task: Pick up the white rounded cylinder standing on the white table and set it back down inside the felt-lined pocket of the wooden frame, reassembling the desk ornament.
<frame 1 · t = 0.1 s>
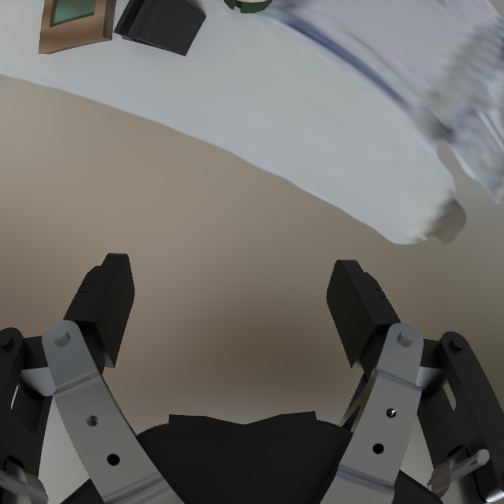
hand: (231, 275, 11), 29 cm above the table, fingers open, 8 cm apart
wooden frame: (84, 2, 22), on the table
phone stand: (164, 27, 26), on the table
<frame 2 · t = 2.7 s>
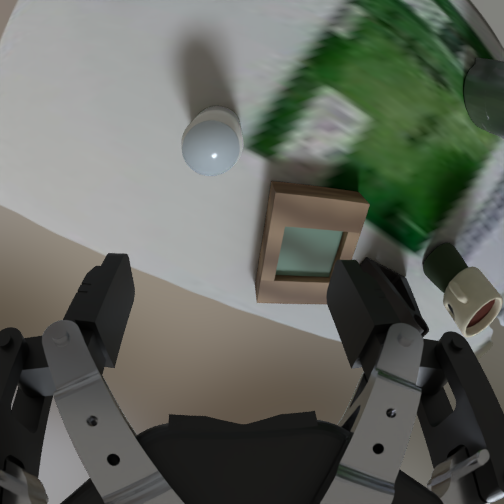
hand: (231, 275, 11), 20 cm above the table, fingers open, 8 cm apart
character mug: (437, 257, 37), on the table
wooden frame: (304, 241, 34), on the table
white rounded cylinder: (216, 128, 26), on the table
phone stand: (373, 282, 39), on the table
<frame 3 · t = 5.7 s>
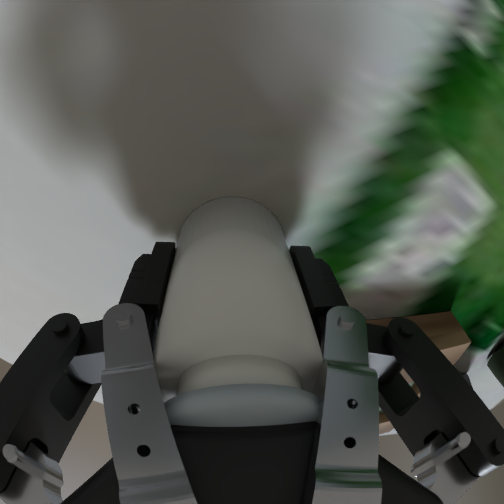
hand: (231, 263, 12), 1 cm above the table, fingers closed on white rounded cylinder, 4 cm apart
character mug: (502, 344, 24), on the table
wooden frame: (364, 377, 20), on the table
white rounded cylinder: (231, 245, 13), on the table, touching gripper
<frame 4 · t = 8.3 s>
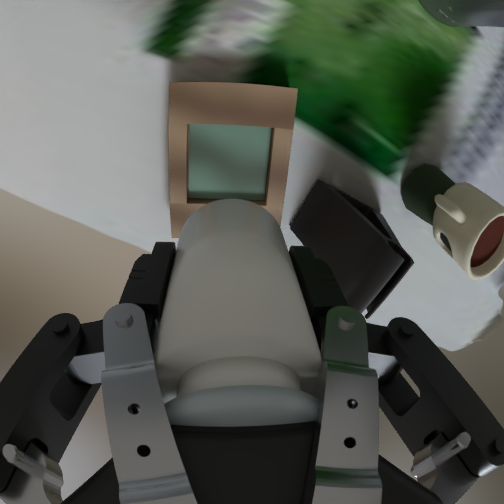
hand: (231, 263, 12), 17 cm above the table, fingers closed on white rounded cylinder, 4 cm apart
character mug: (420, 186, 29), on the table
wooden frame: (228, 156, 26), on the table
white rounded cylinder: (231, 247, 13), point 16 cm above the table, touching gripper
phone stand: (336, 218, 31), on the table
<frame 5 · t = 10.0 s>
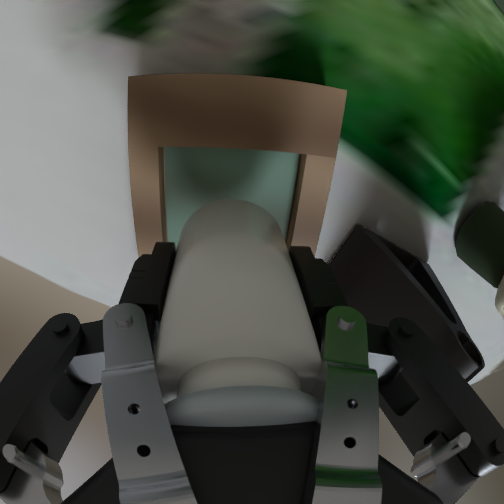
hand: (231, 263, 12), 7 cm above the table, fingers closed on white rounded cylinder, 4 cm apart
character mug: (474, 228, 21), on the table
wooden frame: (228, 192, 17), on the table
white rounded cylinder: (231, 247, 13), point 6 cm above the table, touching gripper
phone stand: (374, 272, 22), on the table
when the fingers open (5 cm above the table, at t = 11.3 s): white rounded cylinder drops 1 cm, resting on wooden frame.
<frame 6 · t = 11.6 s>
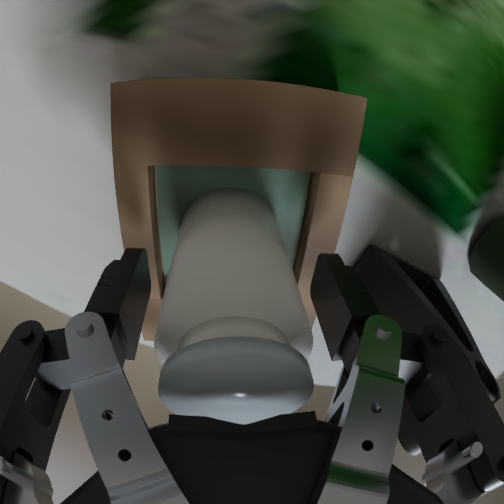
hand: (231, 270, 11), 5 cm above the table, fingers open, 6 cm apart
character mug: (488, 241, 19), on the table
wooden frame: (229, 211, 16), on the table
white rounded cylinder: (229, 232, 14), point 2 cm above the table, touching wooden frame
phone stand: (385, 291, 20), on the table
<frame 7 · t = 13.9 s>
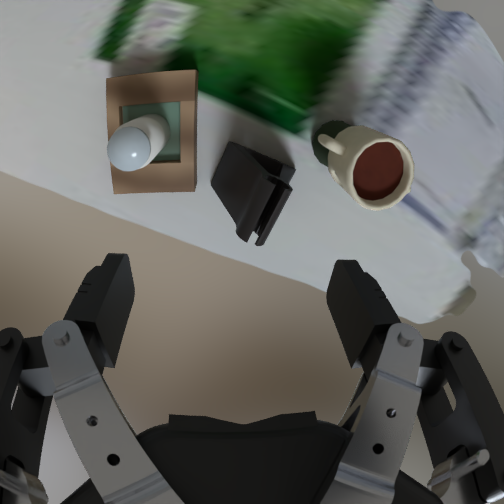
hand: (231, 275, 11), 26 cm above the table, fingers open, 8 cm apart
character mug: (334, 142, 34), on the table
wooden frame: (155, 129, 31), on the table
white rounded cylinder: (150, 133, 29), point 2 cm above the table, touching wooden frame
phone stand: (253, 175, 36), on the table
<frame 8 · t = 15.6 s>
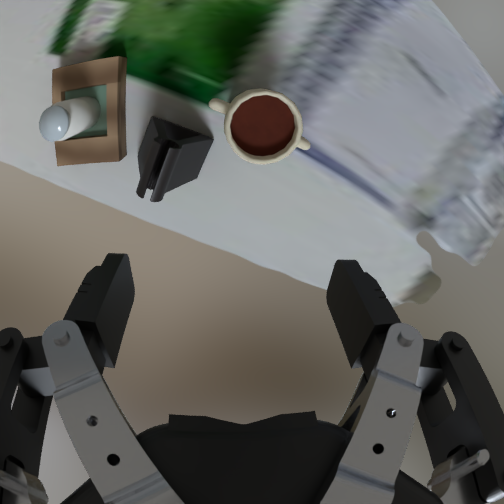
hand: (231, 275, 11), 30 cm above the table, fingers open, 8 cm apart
character mug: (252, 112, 35), on the table
wooden frame: (93, 110, 32), on the table
white rounded cylinder: (85, 112, 30), point 2 cm above the table, touching wooden frame
phone stand: (175, 146, 37), on the table
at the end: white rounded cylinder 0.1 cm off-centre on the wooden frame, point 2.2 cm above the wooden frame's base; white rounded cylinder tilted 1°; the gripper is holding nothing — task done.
